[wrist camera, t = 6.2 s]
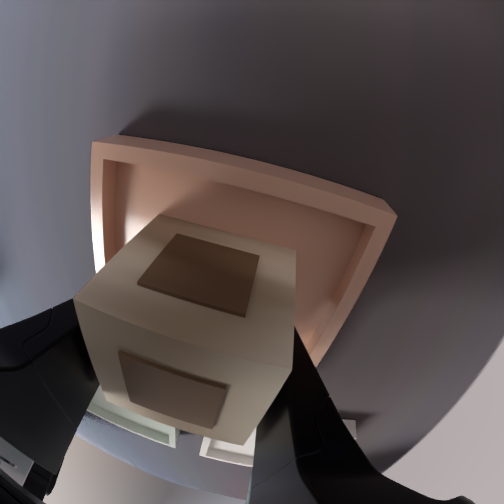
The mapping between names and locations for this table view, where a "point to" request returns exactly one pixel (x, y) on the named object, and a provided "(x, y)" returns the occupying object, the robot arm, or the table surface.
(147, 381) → the letter cube
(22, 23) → the table surface
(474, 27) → the table surface
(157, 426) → the dish
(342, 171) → the table surface
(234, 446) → the dish
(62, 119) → the table surface
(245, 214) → the dish
